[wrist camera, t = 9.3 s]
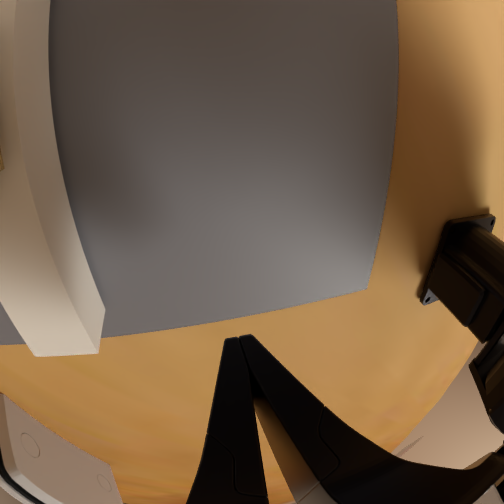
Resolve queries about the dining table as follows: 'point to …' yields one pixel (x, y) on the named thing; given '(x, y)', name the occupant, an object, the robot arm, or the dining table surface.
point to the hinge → (48, 464)
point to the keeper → (1, 162)
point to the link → (38, 201)
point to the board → (222, 151)
